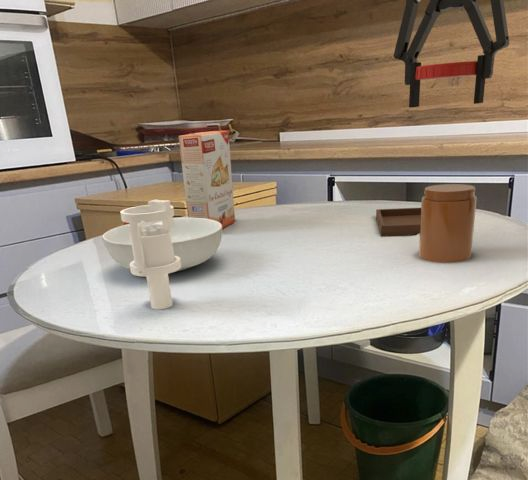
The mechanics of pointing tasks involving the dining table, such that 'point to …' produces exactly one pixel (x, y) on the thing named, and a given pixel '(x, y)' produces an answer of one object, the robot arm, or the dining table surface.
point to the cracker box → (208, 176)
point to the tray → (398, 221)
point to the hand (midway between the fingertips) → (445, 105)
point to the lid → (446, 70)
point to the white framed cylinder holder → (153, 248)
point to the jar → (447, 223)
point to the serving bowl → (182, 237)
